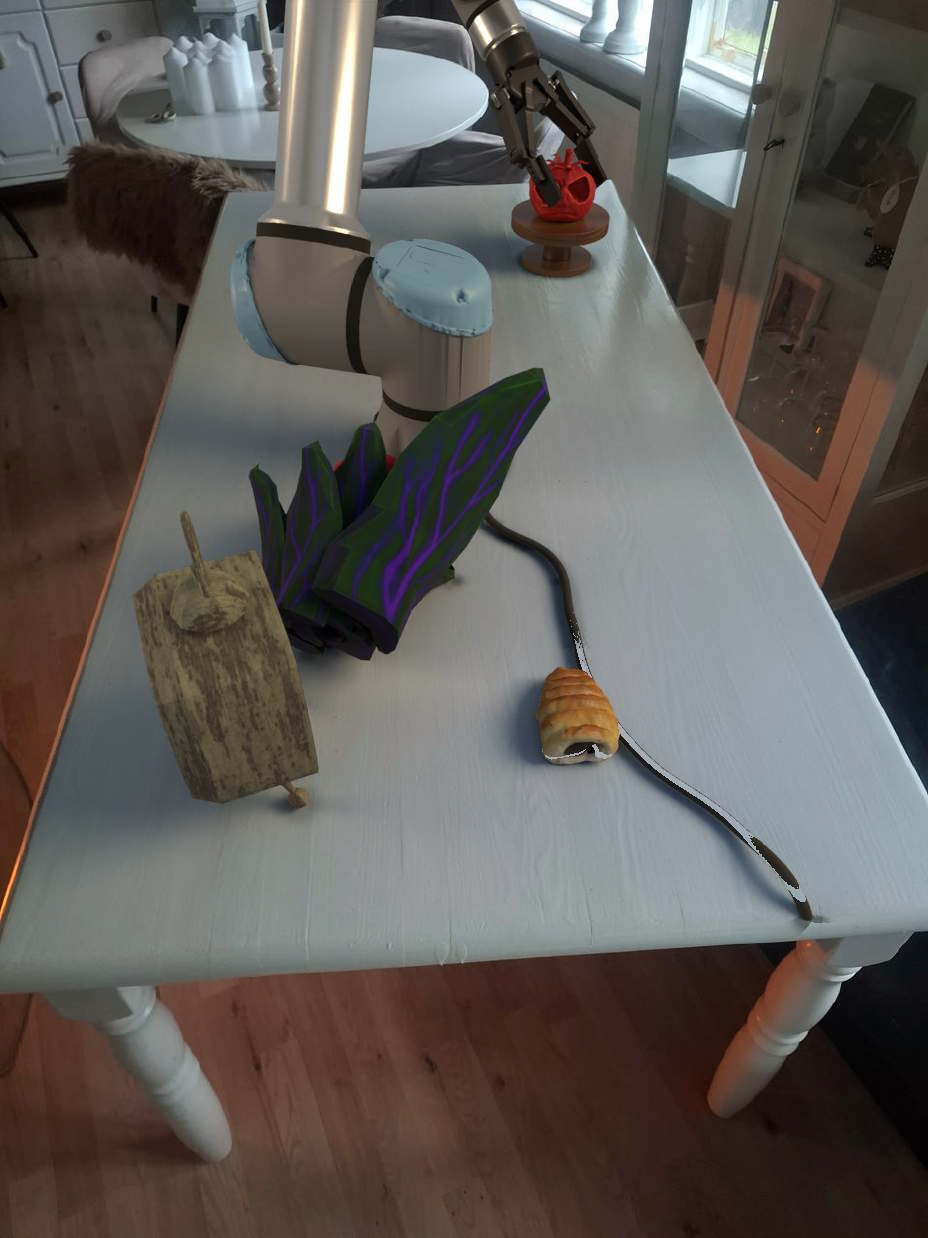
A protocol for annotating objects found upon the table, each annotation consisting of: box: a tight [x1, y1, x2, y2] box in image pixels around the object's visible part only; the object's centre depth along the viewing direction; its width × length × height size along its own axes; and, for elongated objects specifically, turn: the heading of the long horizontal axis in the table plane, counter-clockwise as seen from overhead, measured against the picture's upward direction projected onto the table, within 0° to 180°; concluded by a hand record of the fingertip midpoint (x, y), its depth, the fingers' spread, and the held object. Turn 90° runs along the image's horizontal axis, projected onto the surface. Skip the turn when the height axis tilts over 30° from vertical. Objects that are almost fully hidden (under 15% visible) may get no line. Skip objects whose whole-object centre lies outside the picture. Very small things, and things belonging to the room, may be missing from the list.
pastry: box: [535, 666, 619, 765], centre depth 73 cm, size 9×7×4 cm
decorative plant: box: [248, 367, 552, 662], centre depth 79 cm, size 21×26×30 cm
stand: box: [510, 198, 611, 278], centre depth 134 cm, size 15×15×7 cm
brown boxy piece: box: [132, 510, 320, 809], centre depth 62 cm, size 14×9×25 cm, turn 22°
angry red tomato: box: [528, 147, 597, 222], centre depth 128 cm, size 10×10×9 cm
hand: (578, 193), depth 127 cm, fingers closed on angry red tomato, 9 cm apart
